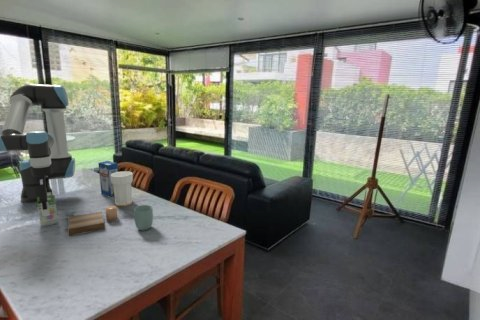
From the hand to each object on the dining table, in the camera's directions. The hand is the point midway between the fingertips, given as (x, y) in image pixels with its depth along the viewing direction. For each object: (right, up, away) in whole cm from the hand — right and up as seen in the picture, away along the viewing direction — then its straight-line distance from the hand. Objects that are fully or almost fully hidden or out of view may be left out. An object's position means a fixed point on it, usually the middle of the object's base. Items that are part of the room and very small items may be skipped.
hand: (47, 210), depth 125 cm
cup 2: (+45, -8, 0) cm, 46 cm away
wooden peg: (+26, -6, +8) cm, 28 cm away
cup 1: (+23, -1, +28) cm, 37 cm away
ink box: (0, -7, +2) cm, 7 cm away
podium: (+18, -7, +1) cm, 19 cm away
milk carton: (+9, +2, +41) cm, 43 cm away
